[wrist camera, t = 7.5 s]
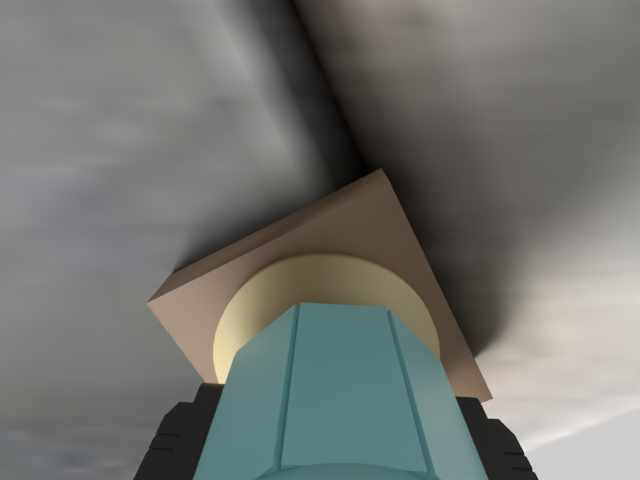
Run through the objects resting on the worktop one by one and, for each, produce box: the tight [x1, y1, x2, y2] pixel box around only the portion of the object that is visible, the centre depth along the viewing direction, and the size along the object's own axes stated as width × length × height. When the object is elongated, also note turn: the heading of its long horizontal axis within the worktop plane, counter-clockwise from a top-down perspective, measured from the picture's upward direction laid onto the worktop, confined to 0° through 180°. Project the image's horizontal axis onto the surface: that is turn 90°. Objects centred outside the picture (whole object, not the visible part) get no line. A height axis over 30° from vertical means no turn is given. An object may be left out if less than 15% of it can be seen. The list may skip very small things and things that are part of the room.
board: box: [147, 168, 493, 403], centre depth 12 cm, size 8×8×6 cm
